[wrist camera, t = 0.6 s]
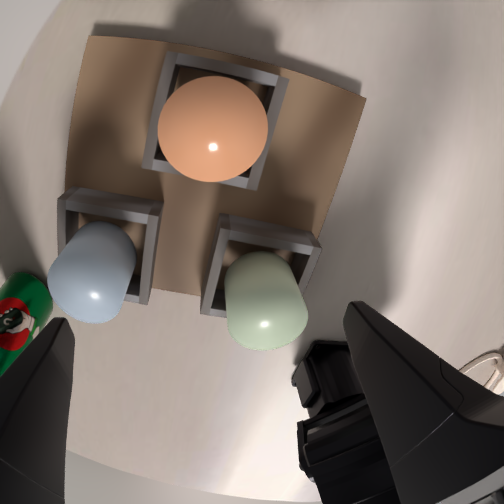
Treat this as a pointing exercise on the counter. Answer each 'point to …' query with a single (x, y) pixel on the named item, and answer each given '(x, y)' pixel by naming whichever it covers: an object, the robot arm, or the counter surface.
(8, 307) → the soda can
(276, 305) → the sage button
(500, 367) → the hand towel holder
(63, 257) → the slate-blue button
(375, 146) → the counter surface
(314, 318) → the counter surface
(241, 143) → the terracotta button
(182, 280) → the walnut button board
